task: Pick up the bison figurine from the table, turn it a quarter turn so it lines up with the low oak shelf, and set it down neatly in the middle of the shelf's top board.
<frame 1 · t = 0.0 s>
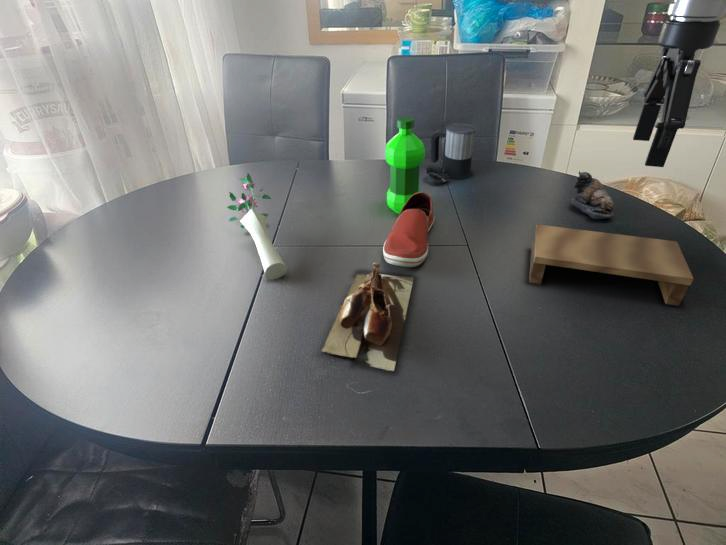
hand: (646, 152, 81), 27 cm above the table, tool pointing down, fingers open, 13 cm apart
slip on shoe: (410, 244, 109), on the table
milk frother: (448, 177, 142), on the table
flower vase: (260, 244, 112), on the table
oak shelf: (598, 276, 96), on the table
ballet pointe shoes: (371, 315, 88), on the table
plastic bottle: (403, 211, 124), on the table
bison figurine: (588, 214, 119), on the table
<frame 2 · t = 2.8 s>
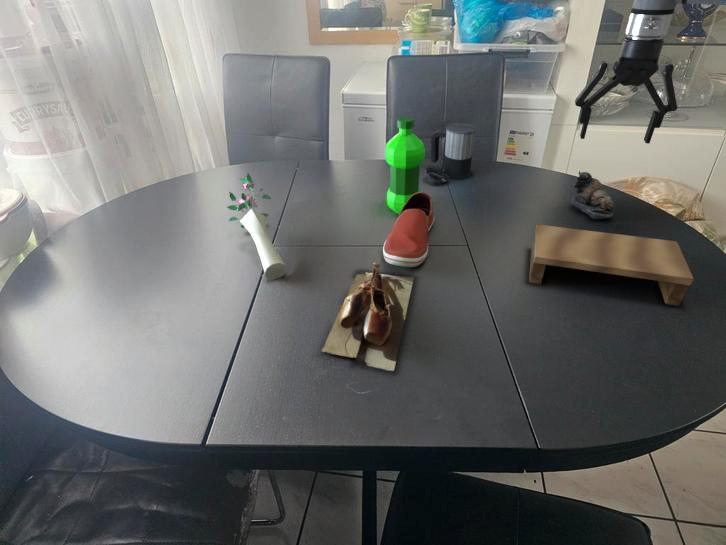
hand: (613, 139, 104), 21 cm above the table, tool pointing down, fingers open, 13 cm apart
nothing on the table moved.
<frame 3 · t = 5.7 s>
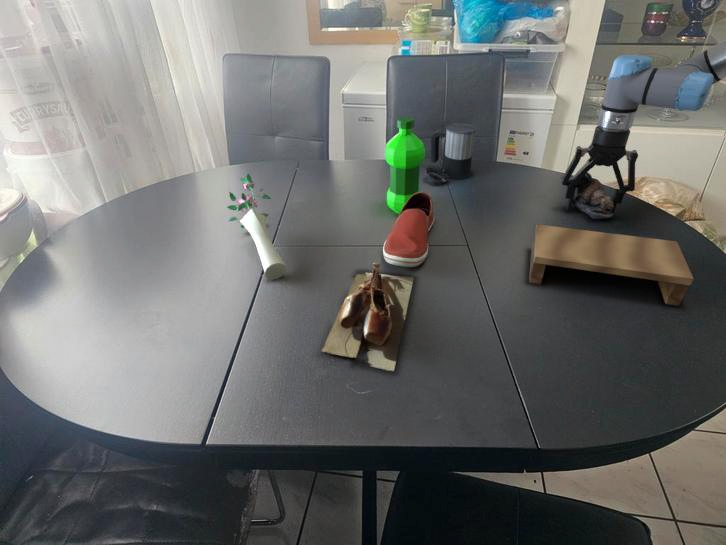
hand: (589, 211, 119), 1 cm above the table, tool pointing down, fingers closed on bison figurine, 10 cm apart
bison figurine: (587, 214, 119), on the table, touching gripper
everything else where it was.
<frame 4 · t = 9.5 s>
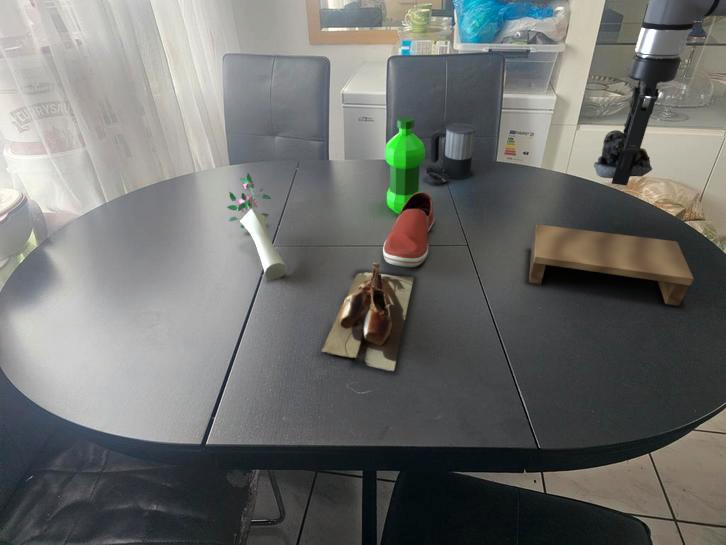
hand: (619, 174, 92), 20 cm above the table, tool pointing down, fingers closed on bison figurine, 9 cm apart
bison figurine: (619, 178, 92), point 19 cm above the table, touching gripper
everything else where it was.
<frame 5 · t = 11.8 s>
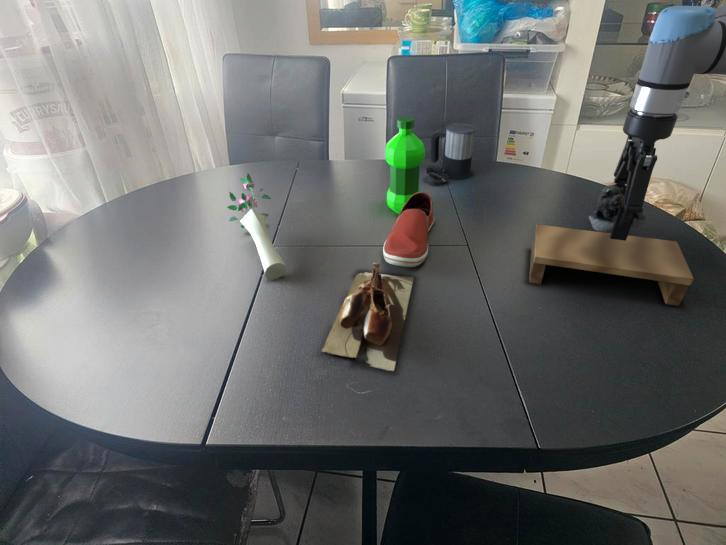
hand: (614, 226, 89), 12 cm above the table, tool pointing down, fingers closed on bison figurine, 9 cm apart
bison figurine: (614, 230, 89), point 11 cm above the table, touching gripper
everything else where it was.
when the fingers open (8 cm above the table, at t = 13.5 s): bison figurine stays where it is, resting on oak shelf.
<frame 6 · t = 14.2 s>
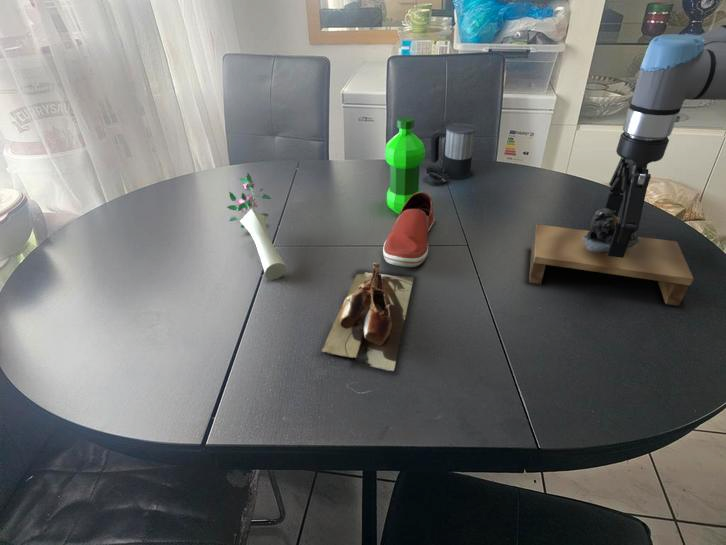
hand: (611, 238, 91), 9 cm above the table, tool pointing down, fingers open, 13 cm apart
bison figurine: (607, 249, 92), point 7 cm above the table, touching oak shelf
everything else where it was.
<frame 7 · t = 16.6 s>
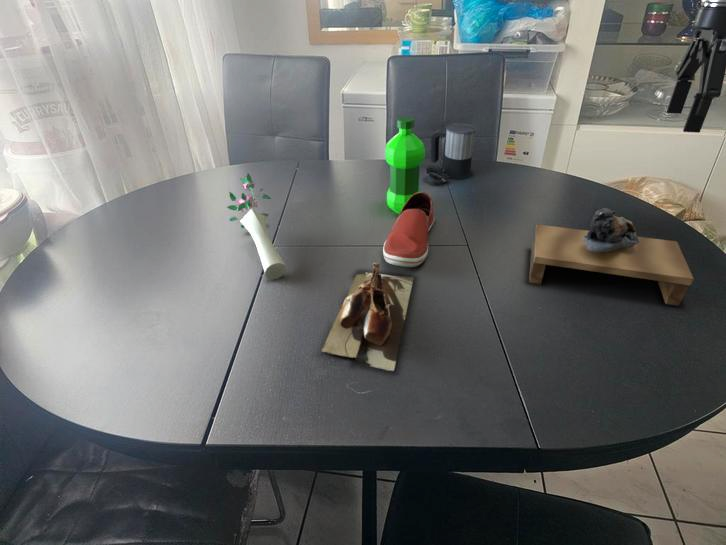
hand: (681, 121, 94), 27 cm above the table, tool pointing down, fingers open, 13 cm apart
nothing on the table moved.
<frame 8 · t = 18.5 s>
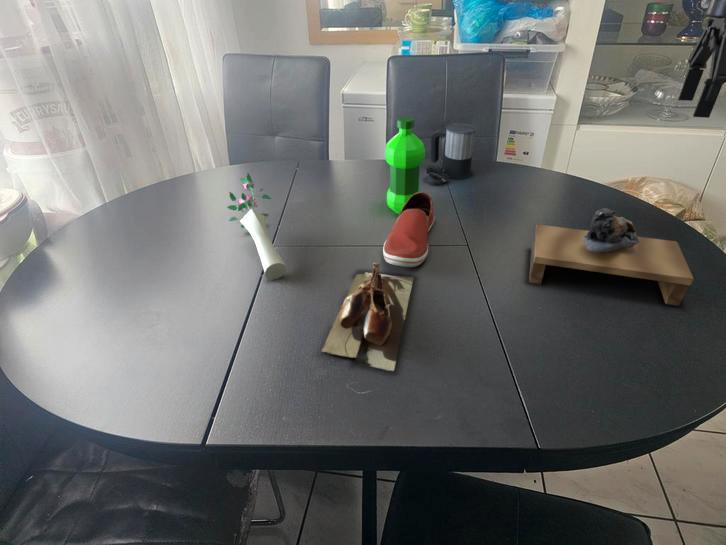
hand: (692, 108, 97), 29 cm above the table, tool pointing down, fingers open, 13 cm apart
nothing on the table moved.
at the end: bison figurine inside the target area on the oak shelf (0.2 cm from its centre), point 6.8 cm above the oak shelf's base; bison figurine tilted 0°; the gripper is holding nothing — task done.
